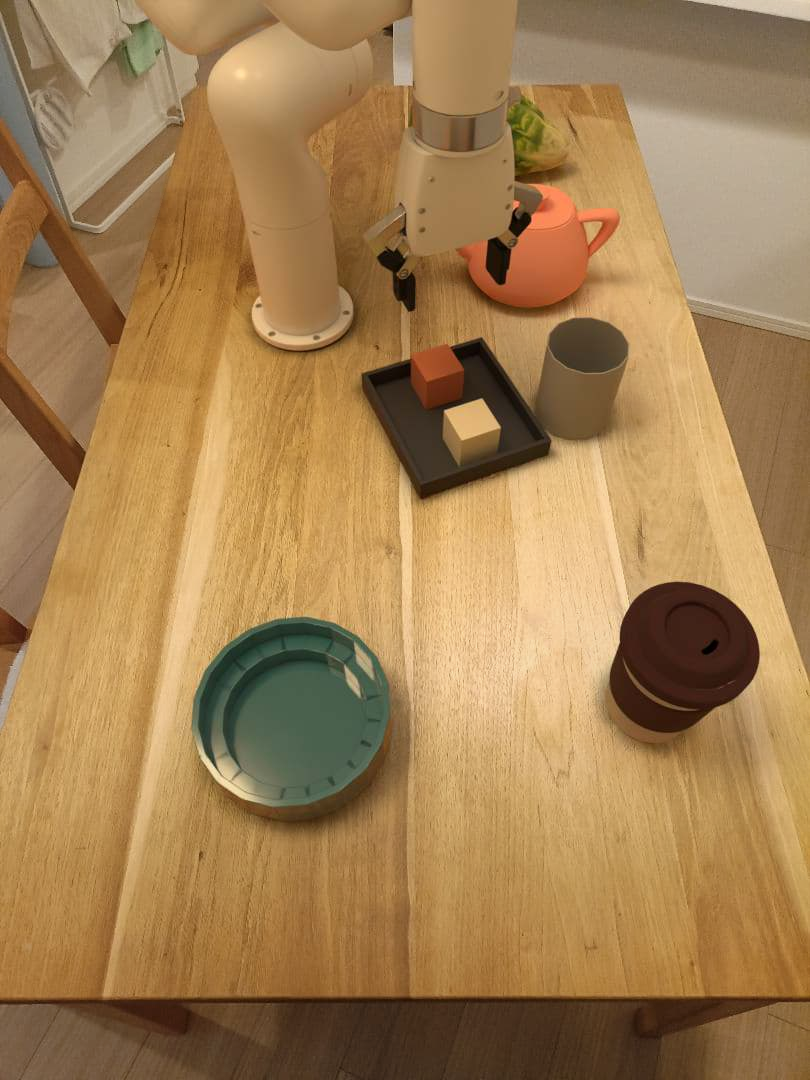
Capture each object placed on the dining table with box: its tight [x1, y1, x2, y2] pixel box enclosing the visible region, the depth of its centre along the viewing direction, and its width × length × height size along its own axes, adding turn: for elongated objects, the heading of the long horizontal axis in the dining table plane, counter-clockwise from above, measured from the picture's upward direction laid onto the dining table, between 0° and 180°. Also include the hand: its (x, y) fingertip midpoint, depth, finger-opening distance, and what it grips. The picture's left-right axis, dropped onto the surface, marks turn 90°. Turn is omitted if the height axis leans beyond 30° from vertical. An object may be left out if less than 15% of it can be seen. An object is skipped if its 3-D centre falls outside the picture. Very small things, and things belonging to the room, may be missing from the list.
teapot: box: [455, 183, 621, 308], centre depth 94 cm, size 22×15×12 cm
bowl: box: [190, 616, 393, 822], centre depth 65 cm, size 16×16×5 cm
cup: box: [533, 316, 630, 441], centre depth 83 cm, size 8×8×10 cm
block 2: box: [443, 398, 501, 467], centre depth 82 cm, size 4×4×4 cm
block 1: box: [410, 343, 464, 410], centre depth 86 cm, size 4×4×4 cm
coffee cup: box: [604, 581, 761, 744], centre depth 62 cm, size 10×10×15 cm
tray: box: [360, 336, 553, 500], centre depth 85 cm, size 17×15×2 cm
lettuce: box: [408, 93, 570, 177], centre depth 108 cm, size 14×23×13 cm, turn 81°
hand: (451, 289), depth 76 cm, fingers open, 9 cm apart
